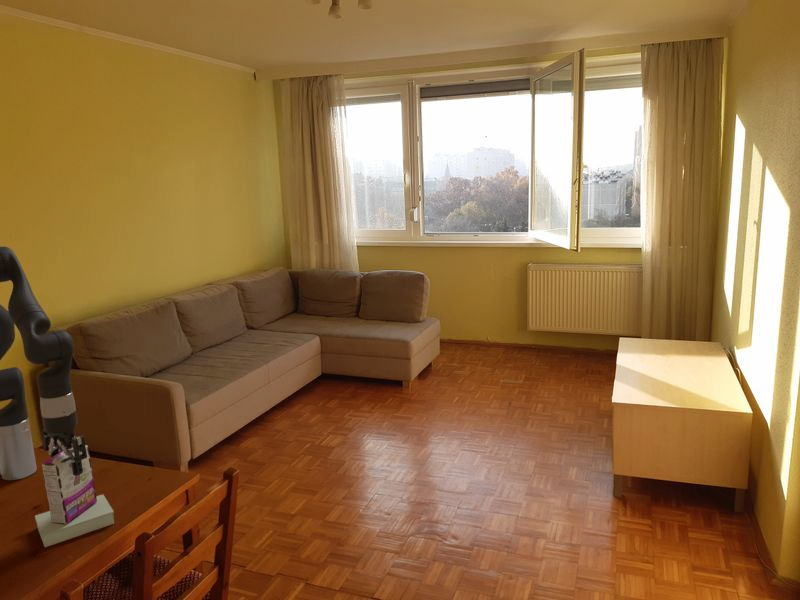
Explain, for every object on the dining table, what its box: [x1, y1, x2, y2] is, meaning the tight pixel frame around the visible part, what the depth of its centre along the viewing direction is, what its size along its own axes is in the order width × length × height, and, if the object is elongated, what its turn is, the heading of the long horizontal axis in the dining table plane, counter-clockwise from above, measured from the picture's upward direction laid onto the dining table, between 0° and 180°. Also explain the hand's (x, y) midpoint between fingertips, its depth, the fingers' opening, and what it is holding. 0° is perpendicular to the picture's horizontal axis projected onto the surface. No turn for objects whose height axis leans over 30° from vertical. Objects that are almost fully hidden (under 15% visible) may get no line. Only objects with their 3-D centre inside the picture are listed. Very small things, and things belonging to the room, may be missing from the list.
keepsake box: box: [34, 494, 115, 548], centre depth 159 cm, size 16×11×4 cm
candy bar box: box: [40, 444, 97, 524], centre depth 158 cm, size 11×5×16 cm, turn 167°
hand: (67, 470), depth 156 cm, fingers open, 8 cm apart
